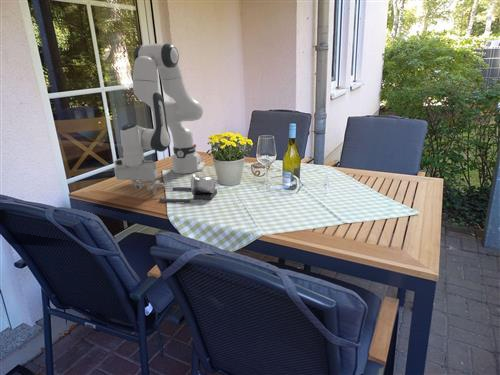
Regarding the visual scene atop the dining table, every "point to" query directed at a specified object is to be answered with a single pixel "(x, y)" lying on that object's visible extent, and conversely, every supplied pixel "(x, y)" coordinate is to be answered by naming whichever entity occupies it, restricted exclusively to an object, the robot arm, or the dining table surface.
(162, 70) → the robot arm
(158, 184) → the pipe connector
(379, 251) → the dining table surface
